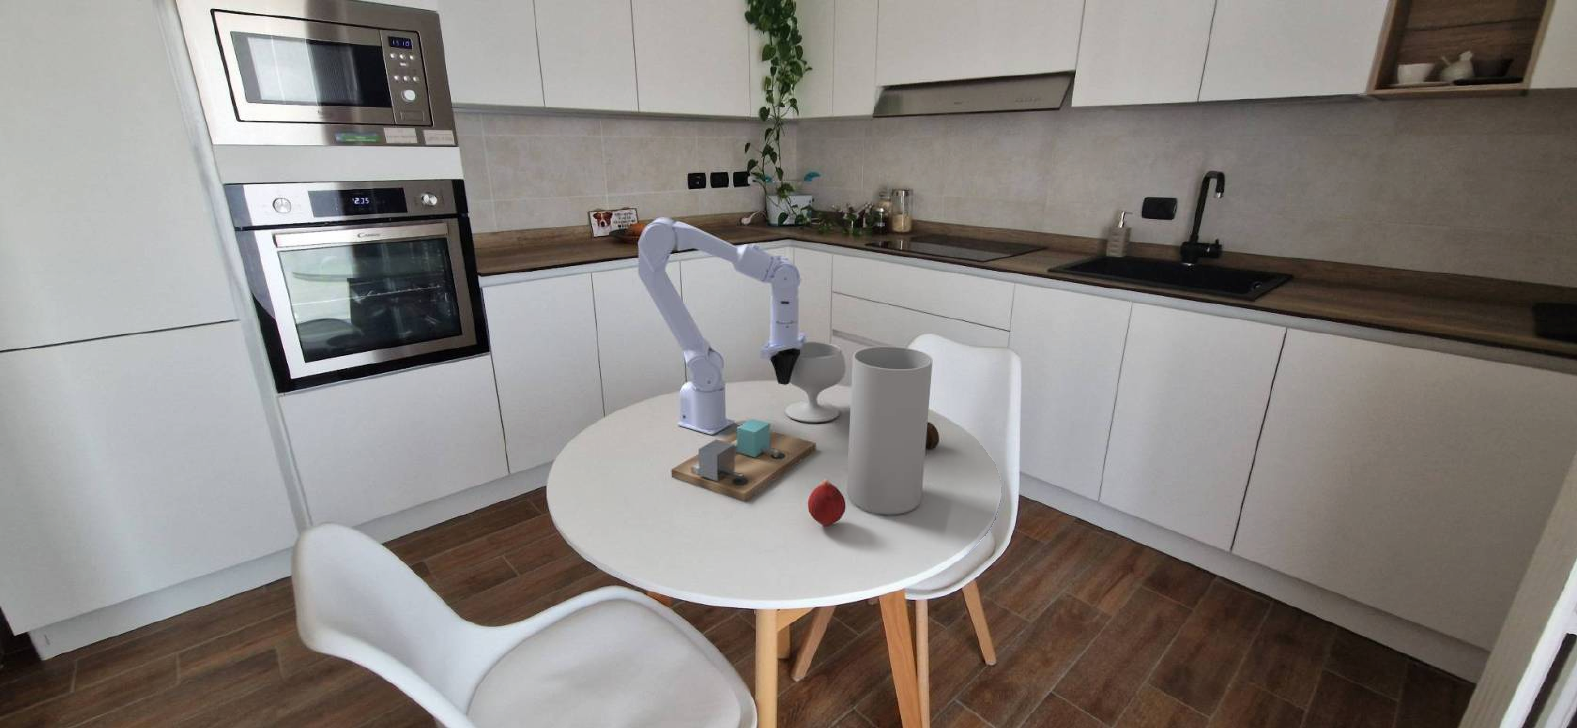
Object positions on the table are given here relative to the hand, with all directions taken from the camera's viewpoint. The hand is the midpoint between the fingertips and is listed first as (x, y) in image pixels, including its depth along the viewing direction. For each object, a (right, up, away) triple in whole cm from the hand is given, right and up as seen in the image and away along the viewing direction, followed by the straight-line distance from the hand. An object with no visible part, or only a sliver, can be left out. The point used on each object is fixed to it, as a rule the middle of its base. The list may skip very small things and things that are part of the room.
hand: (783, 383), depth 140 cm
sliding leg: (-4, -13, -14) cm, 19 cm away
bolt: (+23, -14, -9) cm, 28 cm away
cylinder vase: (+17, -19, -26) cm, 37 cm away
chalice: (+6, -7, +9) cm, 13 cm away
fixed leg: (-10, -15, -23) cm, 30 cm away
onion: (+7, -22, -35) cm, 41 cm away
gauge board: (-7, -14, -14) cm, 22 cm away
